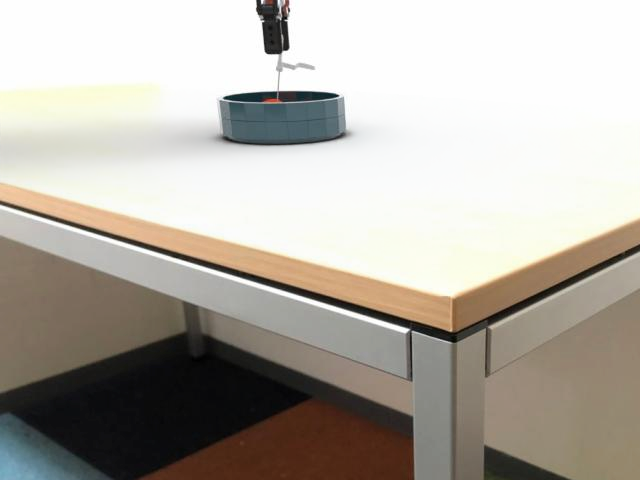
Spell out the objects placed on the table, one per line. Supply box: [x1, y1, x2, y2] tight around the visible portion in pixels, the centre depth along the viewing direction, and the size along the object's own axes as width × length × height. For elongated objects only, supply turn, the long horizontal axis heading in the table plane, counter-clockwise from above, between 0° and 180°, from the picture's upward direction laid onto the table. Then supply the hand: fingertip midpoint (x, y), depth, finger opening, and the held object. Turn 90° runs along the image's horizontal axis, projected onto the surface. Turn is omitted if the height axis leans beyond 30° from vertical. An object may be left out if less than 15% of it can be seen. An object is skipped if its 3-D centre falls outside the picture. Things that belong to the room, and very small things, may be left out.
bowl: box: [216, 90, 347, 145], centre depth 99 cm, size 16×16×5 cm
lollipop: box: [262, 35, 316, 103], centre depth 97 cm, size 6×10×12 cm, turn 76°
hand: (277, 52), depth 96 cm, fingers open, 8 cm apart
